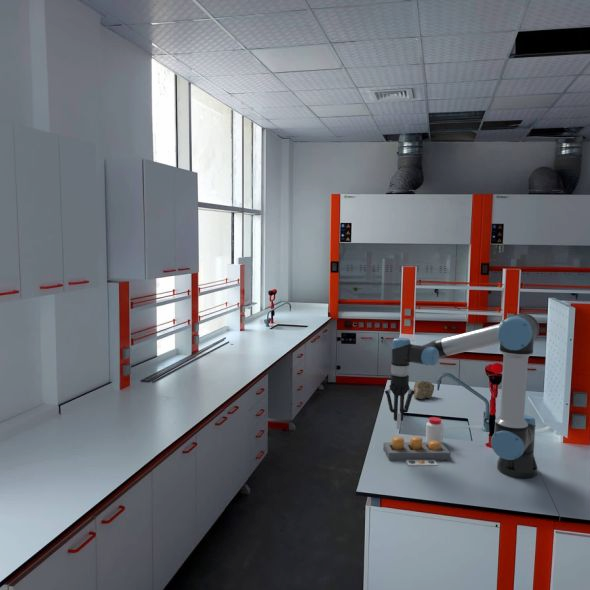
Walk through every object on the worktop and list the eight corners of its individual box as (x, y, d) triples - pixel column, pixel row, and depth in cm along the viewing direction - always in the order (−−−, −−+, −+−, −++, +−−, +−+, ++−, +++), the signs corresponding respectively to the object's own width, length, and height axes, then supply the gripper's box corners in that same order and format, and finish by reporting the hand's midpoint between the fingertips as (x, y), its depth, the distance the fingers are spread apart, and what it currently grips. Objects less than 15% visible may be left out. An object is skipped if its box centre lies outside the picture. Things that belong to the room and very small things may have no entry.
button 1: (402, 446, 243) (402, 436, 242) (404, 450, 238) (405, 440, 237) (390, 446, 242) (391, 436, 242) (393, 451, 237) (393, 440, 237)
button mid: (420, 446, 243) (420, 436, 242) (423, 450, 238) (423, 440, 237) (408, 446, 243) (409, 436, 242) (411, 450, 238) (412, 440, 237)
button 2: (438, 450, 243) (438, 440, 243) (441, 454, 238) (442, 444, 238) (426, 450, 243) (427, 440, 243) (430, 455, 238) (430, 444, 238)
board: (441, 448, 247) (441, 442, 247) (449, 459, 235) (450, 452, 235) (383, 449, 246) (383, 442, 246) (388, 459, 234) (388, 453, 234)
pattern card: (434, 460, 234) (434, 459, 234) (437, 465, 229) (437, 464, 229) (405, 460, 233) (405, 459, 233) (408, 465, 228) (408, 464, 228)
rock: (410, 384, 332) (415, 379, 323) (431, 385, 332) (436, 380, 323) (411, 402, 327) (416, 397, 318) (432, 403, 328) (437, 399, 319)
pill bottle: (430, 437, 260) (431, 415, 259) (445, 441, 255) (446, 418, 254) (422, 442, 254) (423, 419, 253) (438, 446, 249) (439, 423, 248)
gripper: (413, 372, 240) (410, 424, 243) (383, 371, 240) (381, 424, 243) (417, 376, 233) (415, 430, 236) (386, 376, 233) (384, 430, 235)
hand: (397, 427), depth 239 cm, fingers closed
